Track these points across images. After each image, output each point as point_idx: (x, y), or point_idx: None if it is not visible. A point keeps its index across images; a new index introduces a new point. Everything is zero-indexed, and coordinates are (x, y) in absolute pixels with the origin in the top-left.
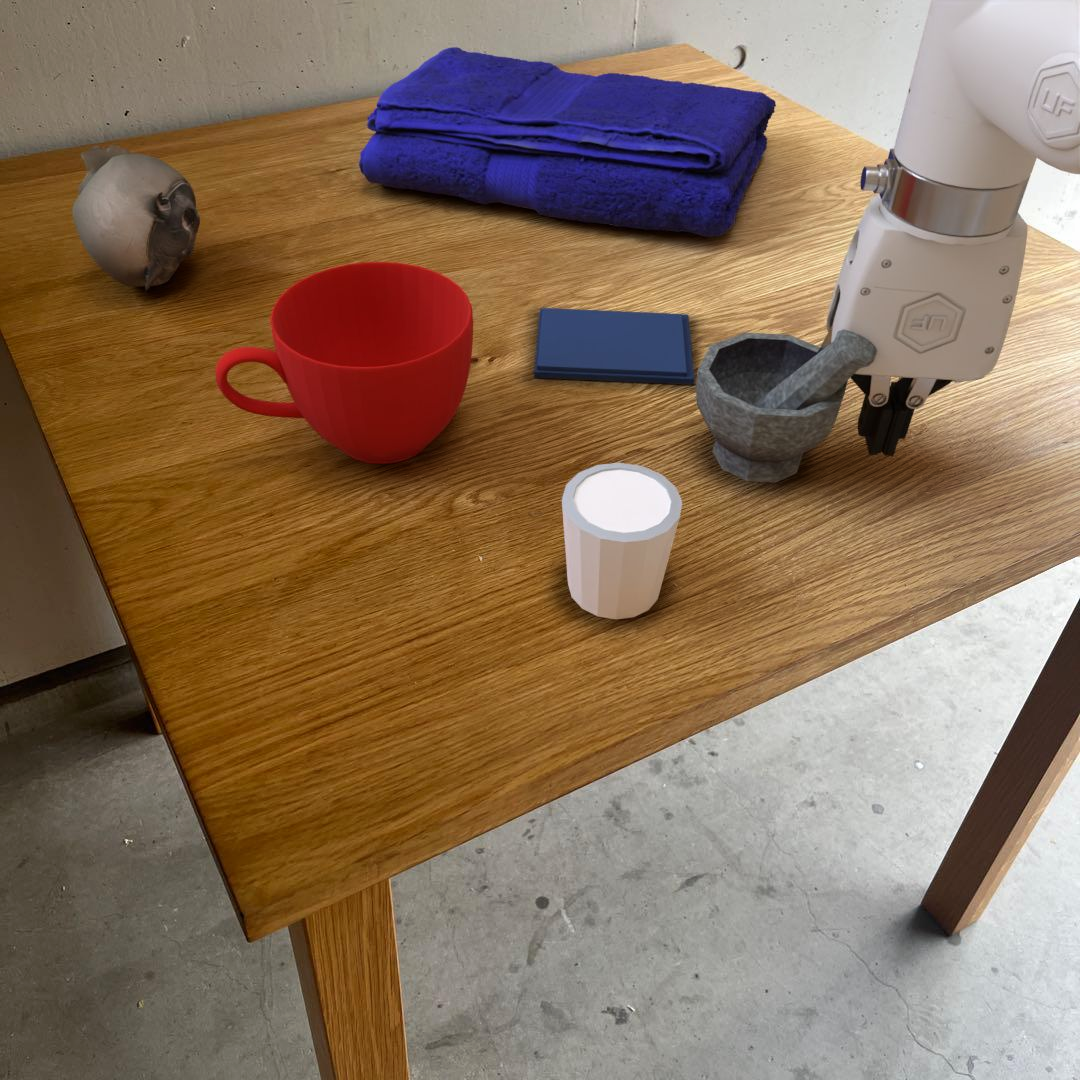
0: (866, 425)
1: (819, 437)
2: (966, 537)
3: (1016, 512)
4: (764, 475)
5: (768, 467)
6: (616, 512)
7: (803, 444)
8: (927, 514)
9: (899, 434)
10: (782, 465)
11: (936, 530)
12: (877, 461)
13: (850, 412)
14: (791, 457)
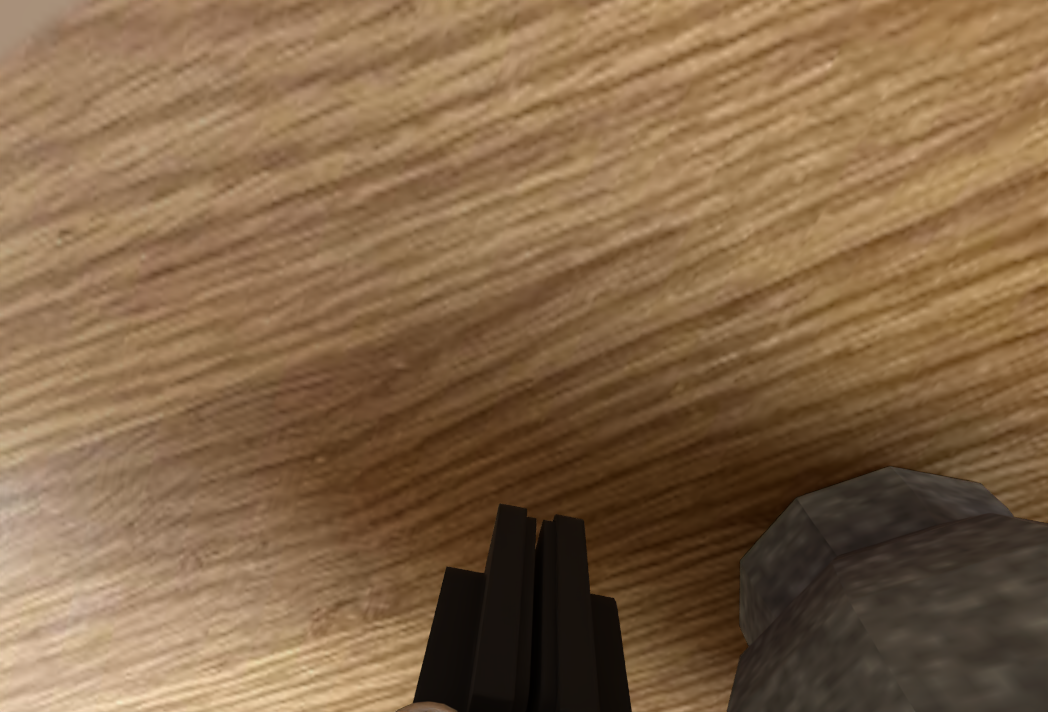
0: (611, 639)
1: (929, 592)
2: (329, 118)
3: (113, 232)
4: (947, 490)
5: (954, 513)
6: None
7: (1038, 559)
8: (434, 259)
9: (492, 575)
10: (901, 515)
11: (430, 171)
12: None
13: None
14: (979, 520)
